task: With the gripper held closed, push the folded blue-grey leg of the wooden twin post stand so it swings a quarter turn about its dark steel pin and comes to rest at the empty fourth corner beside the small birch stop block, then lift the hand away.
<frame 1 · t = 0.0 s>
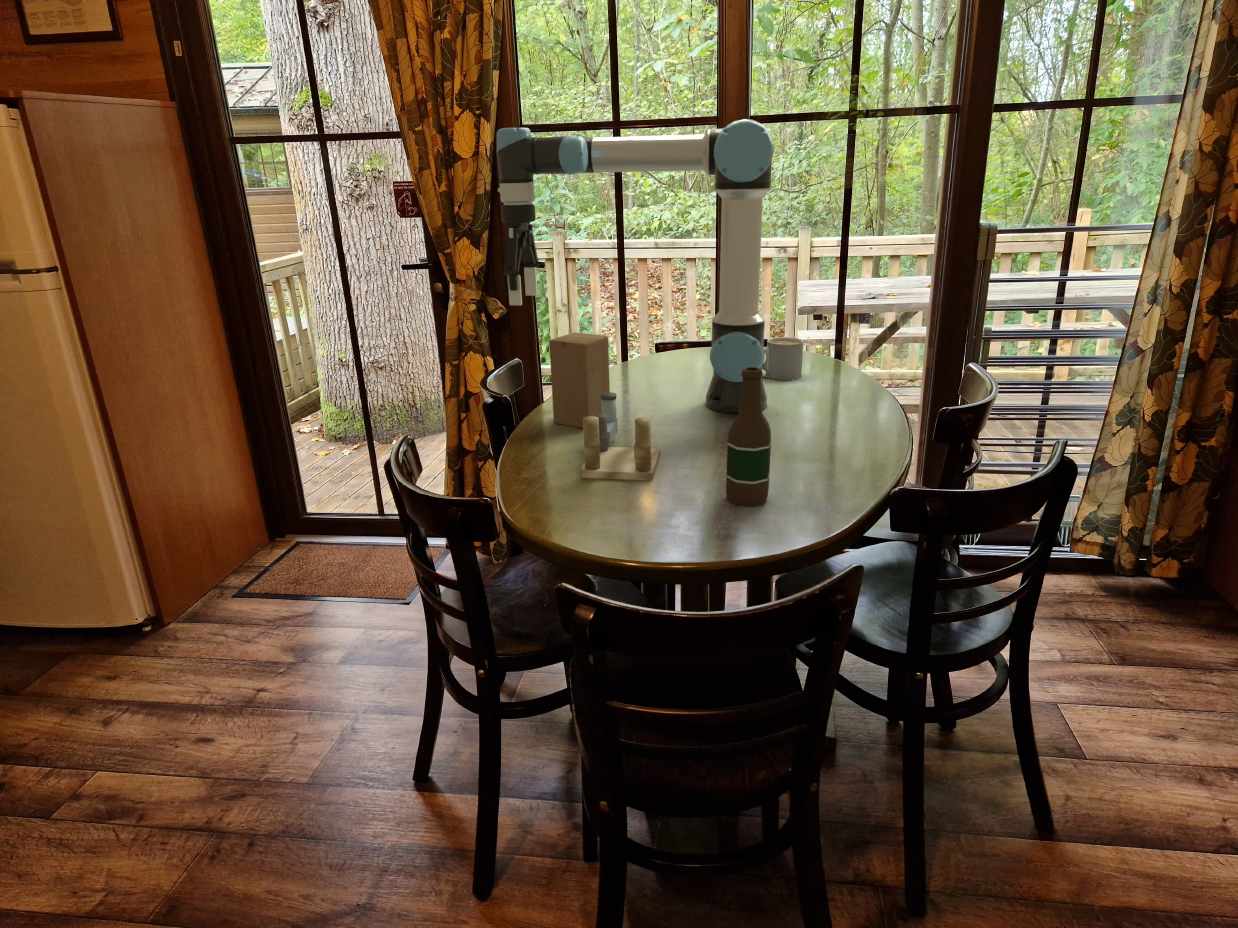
hand: (524, 300, 182), 28 cm above the table, fingers open, 13 cm apart
wooden block: (582, 421, 187), on the table
coffee mug: (777, 376, 222), on the table
hinged leg: (606, 418, 168), point 6 cm above the table, hinge at 0.0°
beer bottle: (747, 499, 142), on the table
wooden twin post stand: (621, 466, 158), on the table
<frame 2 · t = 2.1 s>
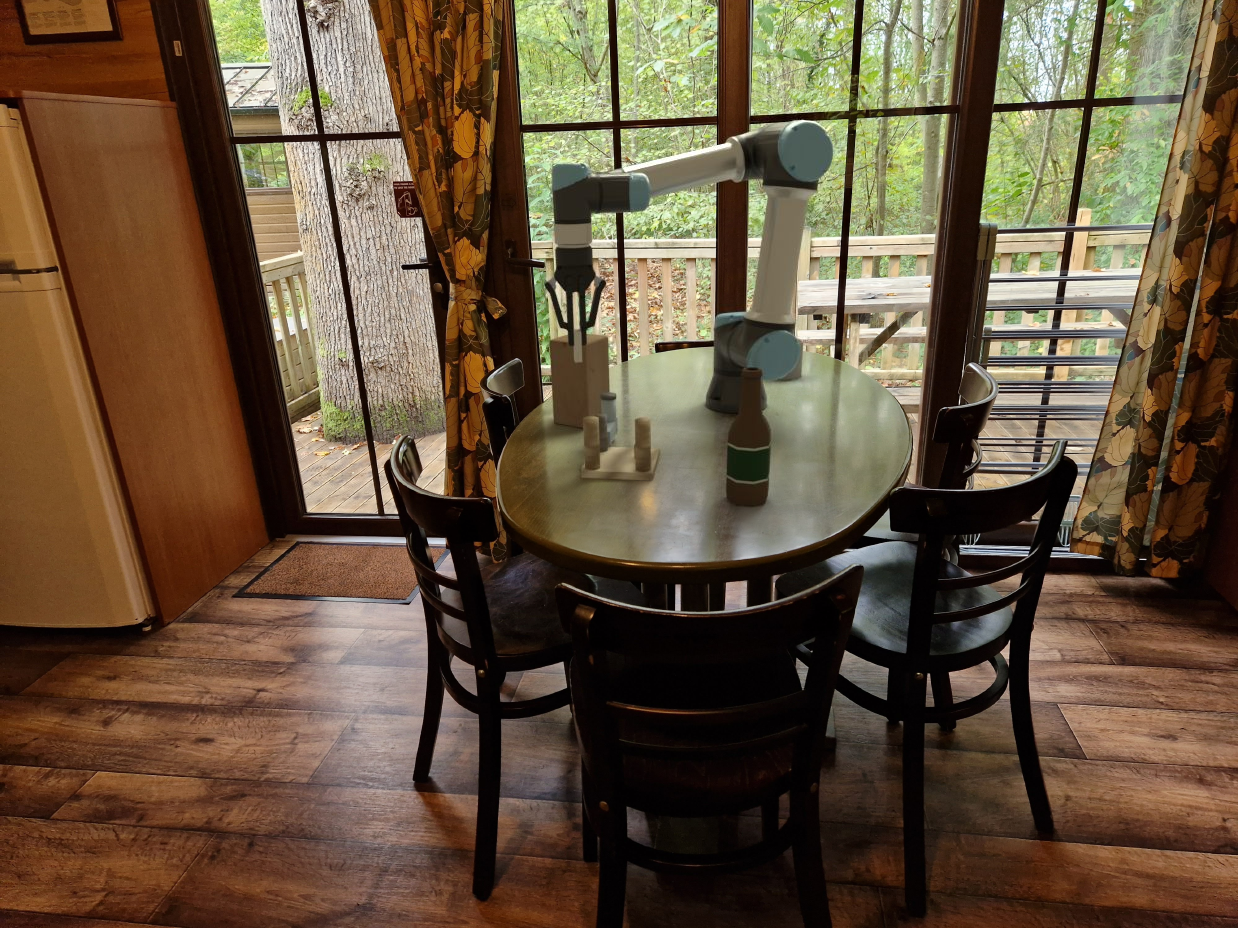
hand: (578, 360, 166), 18 cm above the table, fingers closed
nothing on the table moved.
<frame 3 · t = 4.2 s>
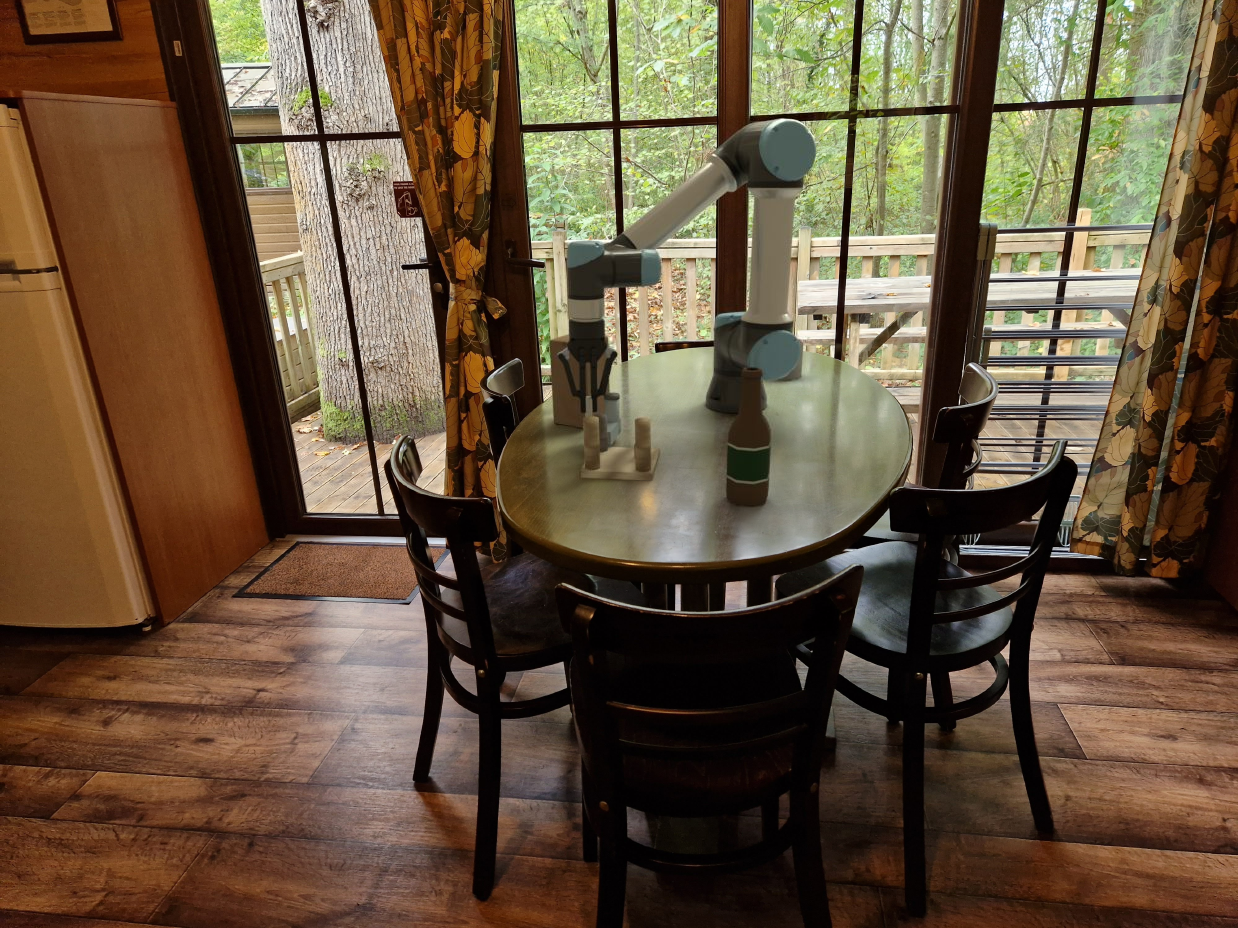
hand: (589, 426, 171), 4 cm above the table, fingers closed
hinged leg: (609, 418, 168), point 6 cm above the table, hinge at 4.2°, touching gripper
everything else where it was.
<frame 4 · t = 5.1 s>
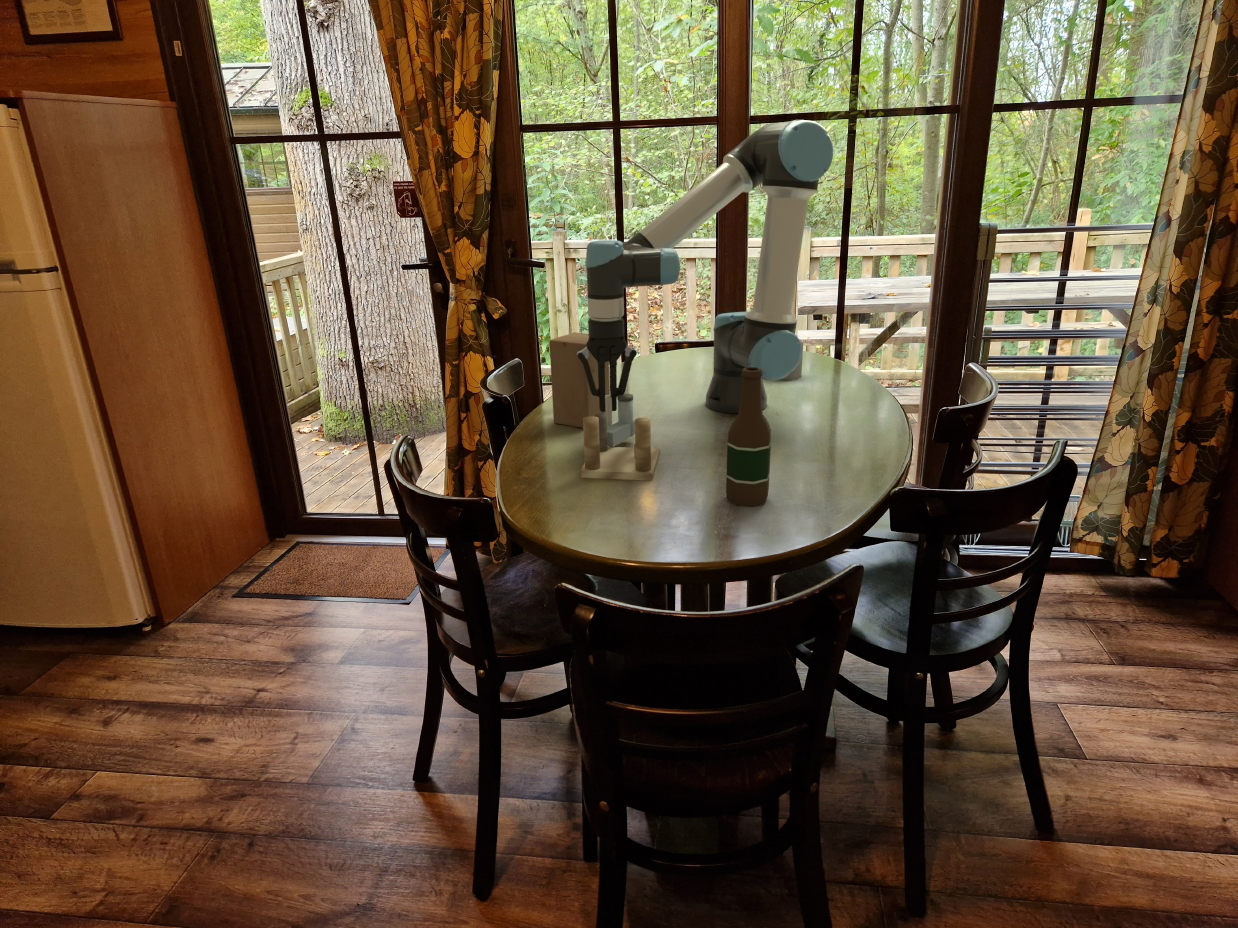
hand: (608, 425, 172), 3 cm above the table, fingers closed
hinged leg: (618, 419, 167), point 6 cm above the table, hinge at 22.0°, touching gripper
everything else where it was.
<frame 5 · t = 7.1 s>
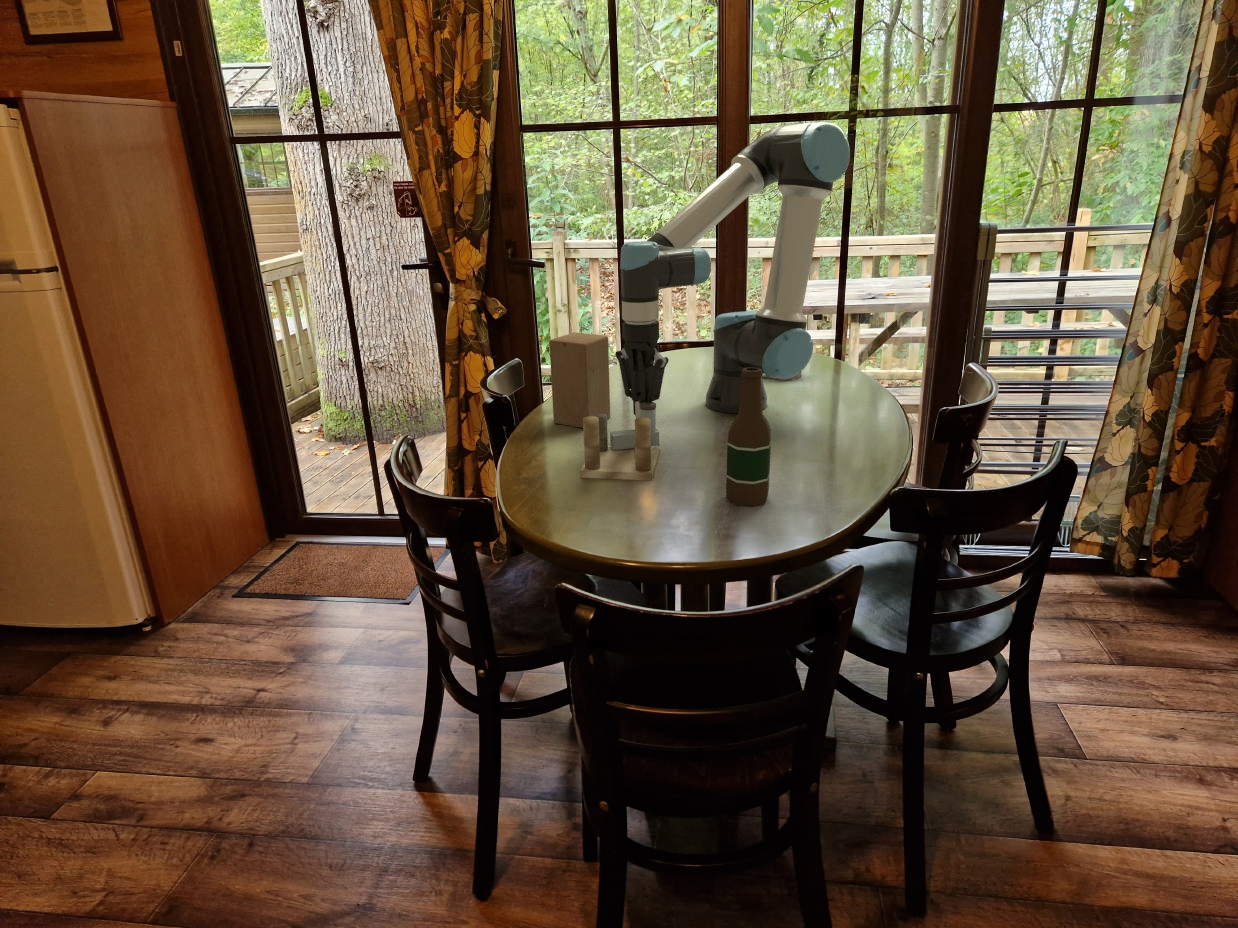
hand: (642, 430, 168), 3 cm above the table, fingers closed
hinged leg: (634, 425, 163), point 6 cm above the table, hinge at 68.9°, touching gripper
everything else where it was.
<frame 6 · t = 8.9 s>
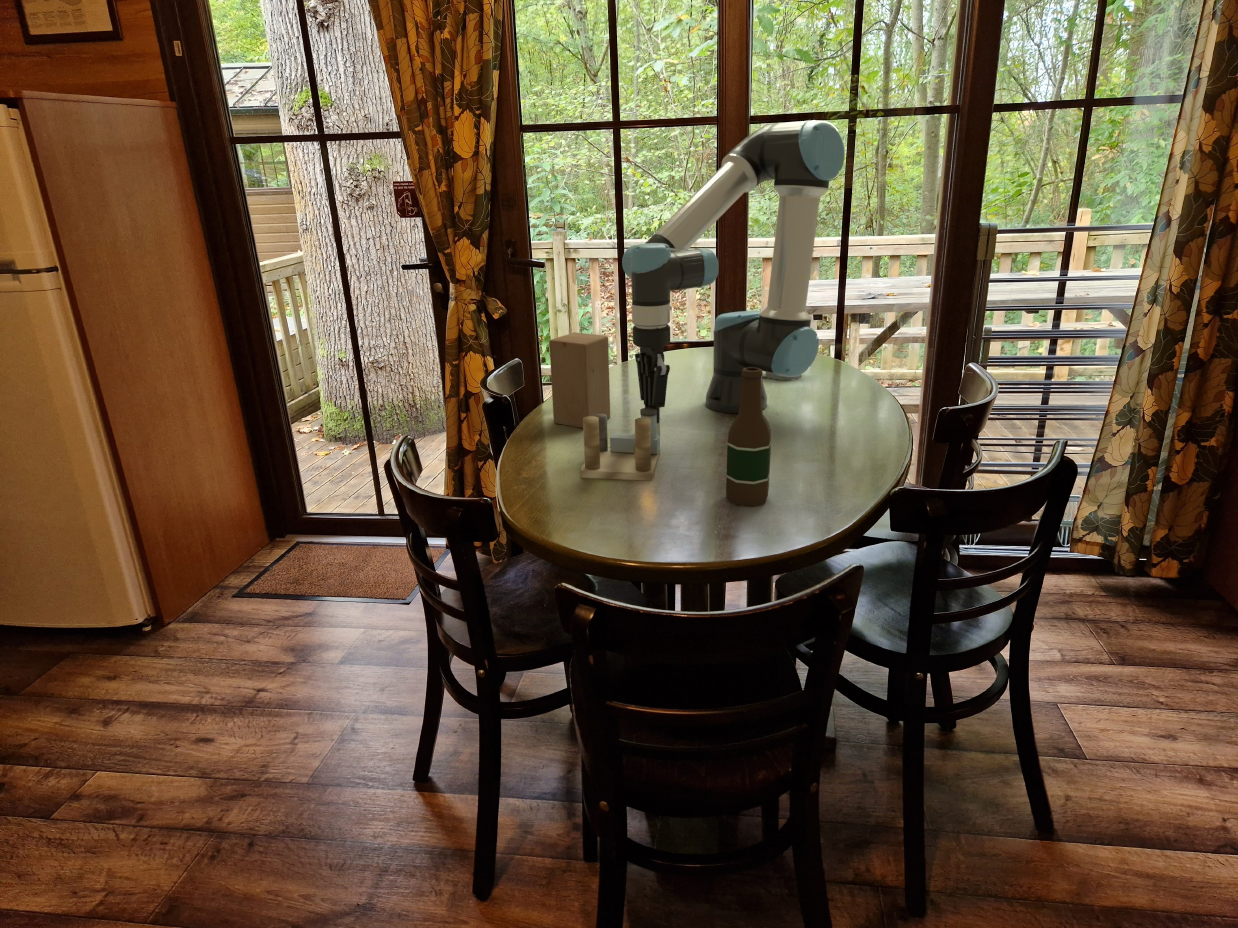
hand: (652, 436, 164), 3 cm above the table, fingers closed
hinged leg: (634, 430, 160), point 6 cm above the table, hinge at 93.1°, touching gripper, hand
everything else where it was.
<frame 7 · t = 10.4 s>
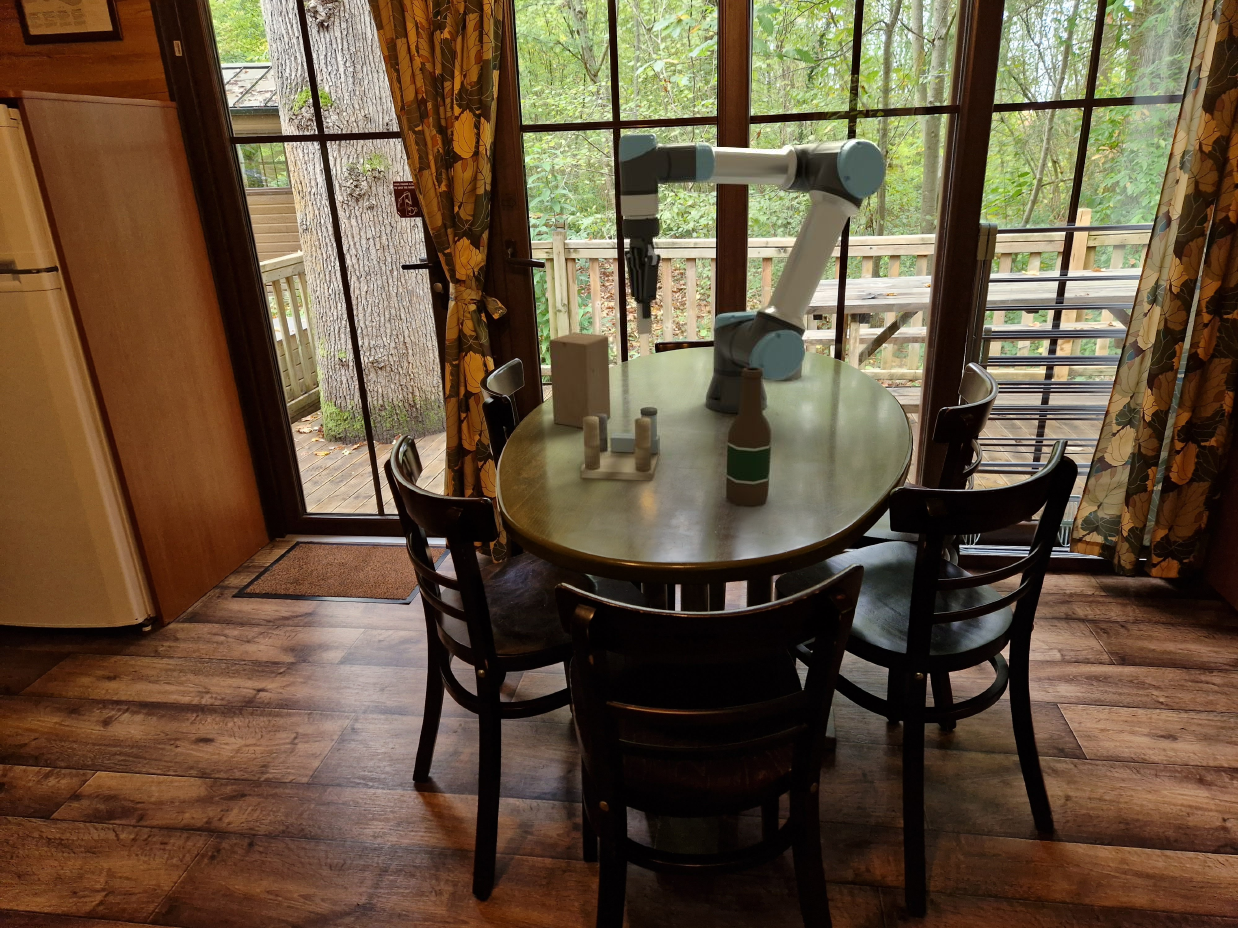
hand: (644, 333, 166), 23 cm above the table, fingers closed
hinged leg: (635, 429, 160), point 6 cm above the table, hinge at 91.3°
everything else where it was.
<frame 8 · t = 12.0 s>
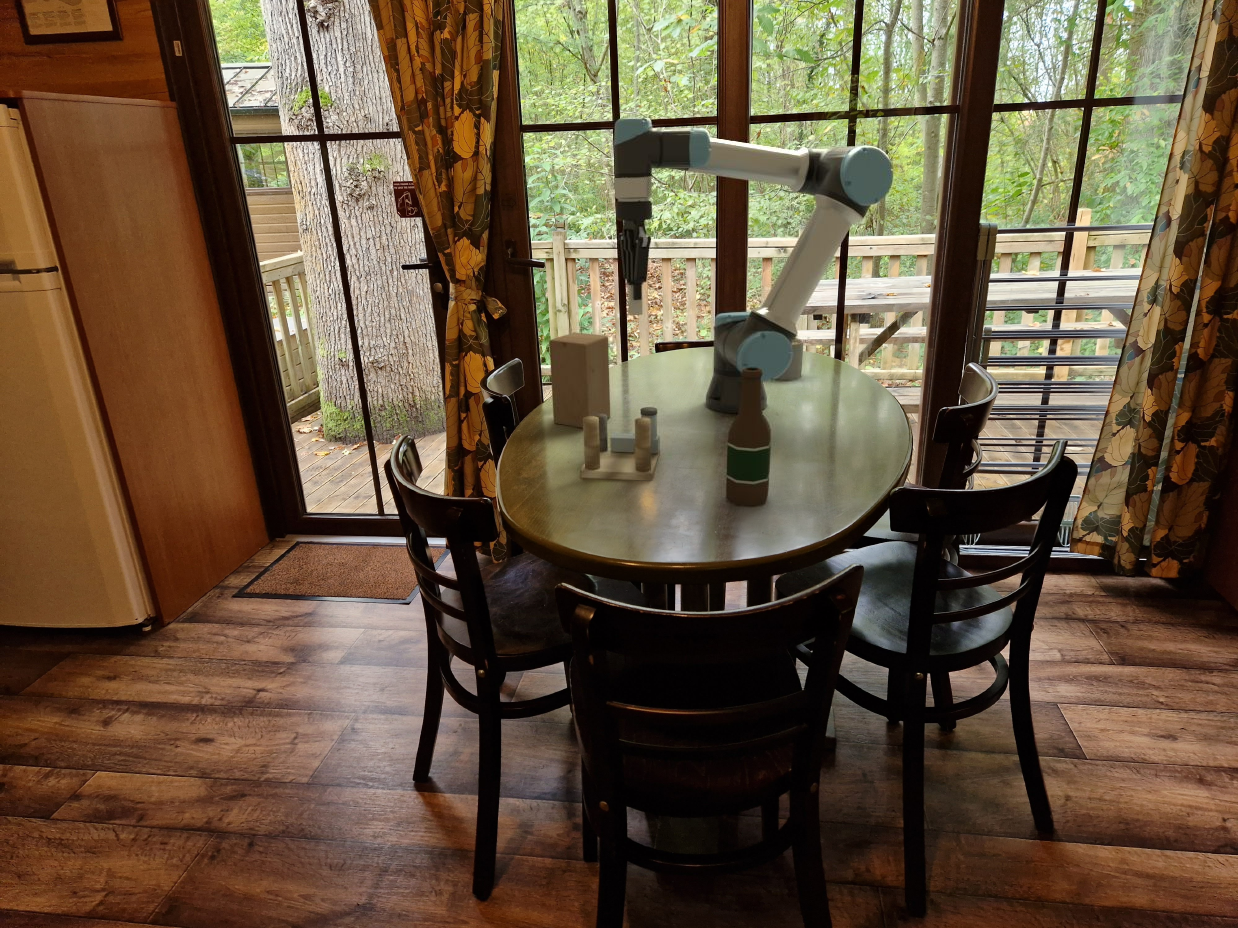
hand: (635, 314, 170), 26 cm above the table, fingers closed
nothing on the table moved.
at the end: hinged leg at +91° (first picture: +0°) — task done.
